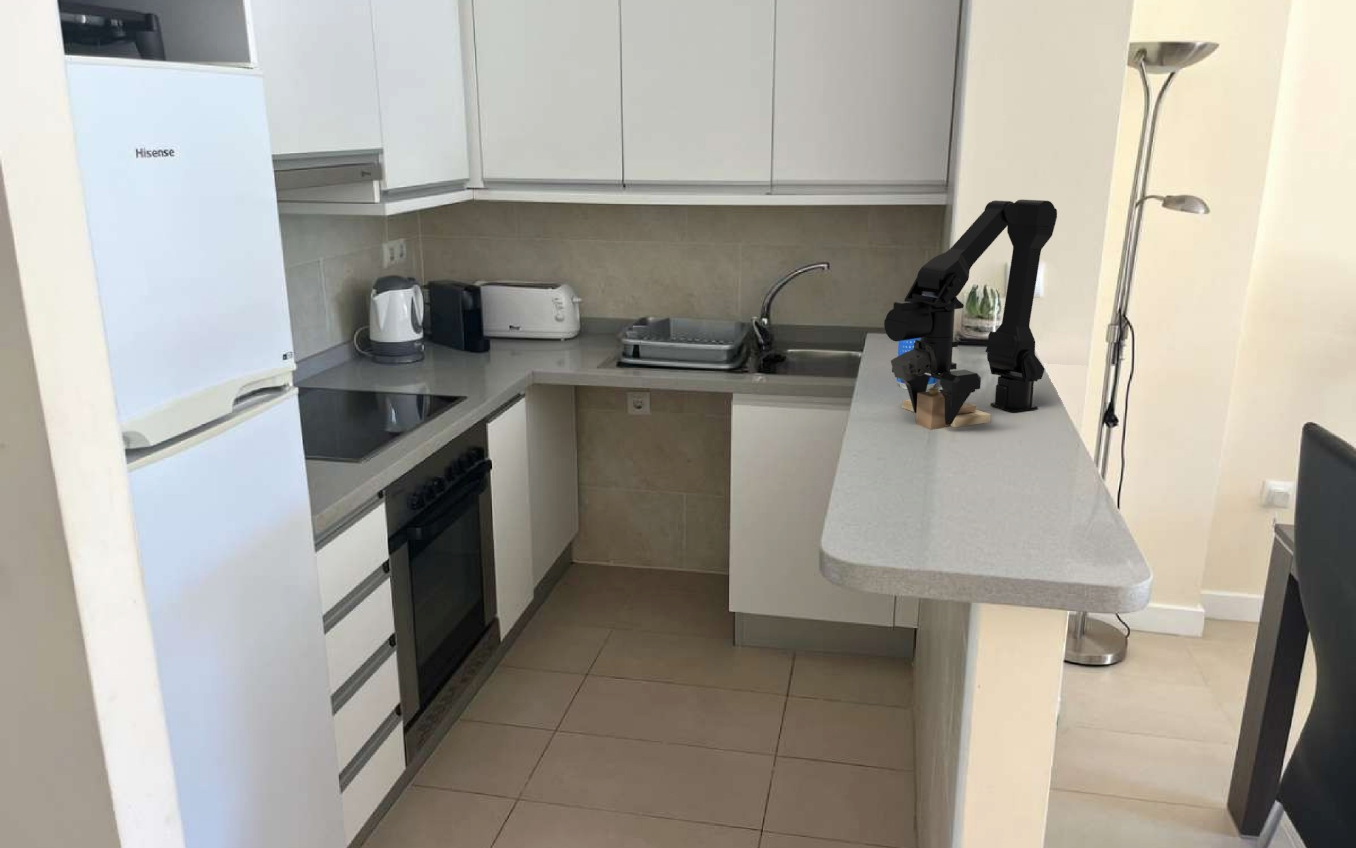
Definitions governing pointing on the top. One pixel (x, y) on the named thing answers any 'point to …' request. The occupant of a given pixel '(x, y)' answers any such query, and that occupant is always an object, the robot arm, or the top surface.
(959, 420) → the board
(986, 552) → the top surface
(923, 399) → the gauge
